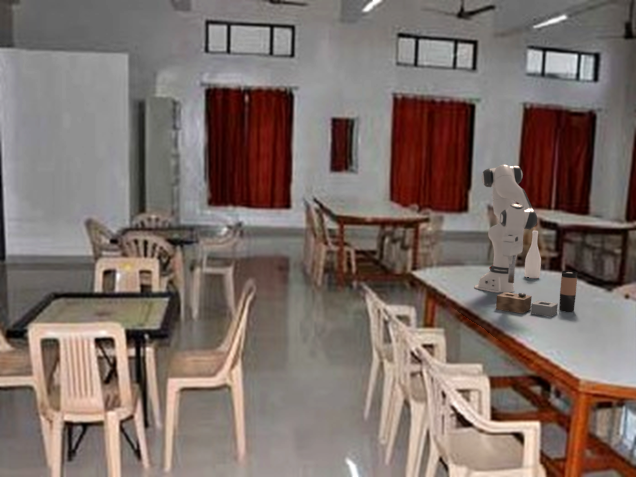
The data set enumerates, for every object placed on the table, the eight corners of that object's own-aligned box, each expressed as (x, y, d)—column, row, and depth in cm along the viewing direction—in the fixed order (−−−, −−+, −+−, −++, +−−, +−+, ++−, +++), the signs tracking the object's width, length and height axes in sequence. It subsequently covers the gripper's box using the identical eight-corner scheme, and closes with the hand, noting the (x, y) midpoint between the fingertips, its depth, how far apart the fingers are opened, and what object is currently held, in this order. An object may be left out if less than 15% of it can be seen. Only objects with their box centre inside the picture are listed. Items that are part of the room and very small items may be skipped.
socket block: (495, 309, 361) (496, 295, 360) (504, 305, 371) (505, 292, 370) (522, 313, 353) (523, 299, 352) (530, 309, 363) (531, 295, 362)
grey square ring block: (530, 313, 354) (531, 303, 353) (537, 309, 362) (537, 300, 361) (550, 316, 348) (551, 306, 348) (556, 313, 356) (557, 303, 356)
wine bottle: (541, 279, 450) (545, 232, 446) (526, 278, 450) (530, 231, 446) (537, 276, 459) (540, 230, 455) (522, 275, 459) (525, 229, 455)
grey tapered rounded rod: (507, 282, 361) (508, 255, 359) (509, 281, 364) (510, 254, 362) (512, 283, 359) (514, 255, 358) (514, 282, 362) (516, 255, 360)
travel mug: (574, 309, 366) (577, 271, 363) (574, 312, 359) (577, 273, 356) (558, 308, 368) (561, 270, 366) (558, 311, 361) (561, 272, 358)
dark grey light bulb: (516, 309, 359) (517, 293, 358) (518, 308, 362) (519, 292, 361) (523, 310, 357) (524, 294, 356) (525, 309, 360) (526, 293, 359)
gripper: (515, 233, 368) (512, 260, 370) (501, 237, 352) (498, 265, 354) (527, 235, 365) (524, 261, 367) (513, 239, 348) (511, 266, 350)
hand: (511, 263), depth 360 cm, fingers closed on grey tapered rounded rod, 3 cm apart
